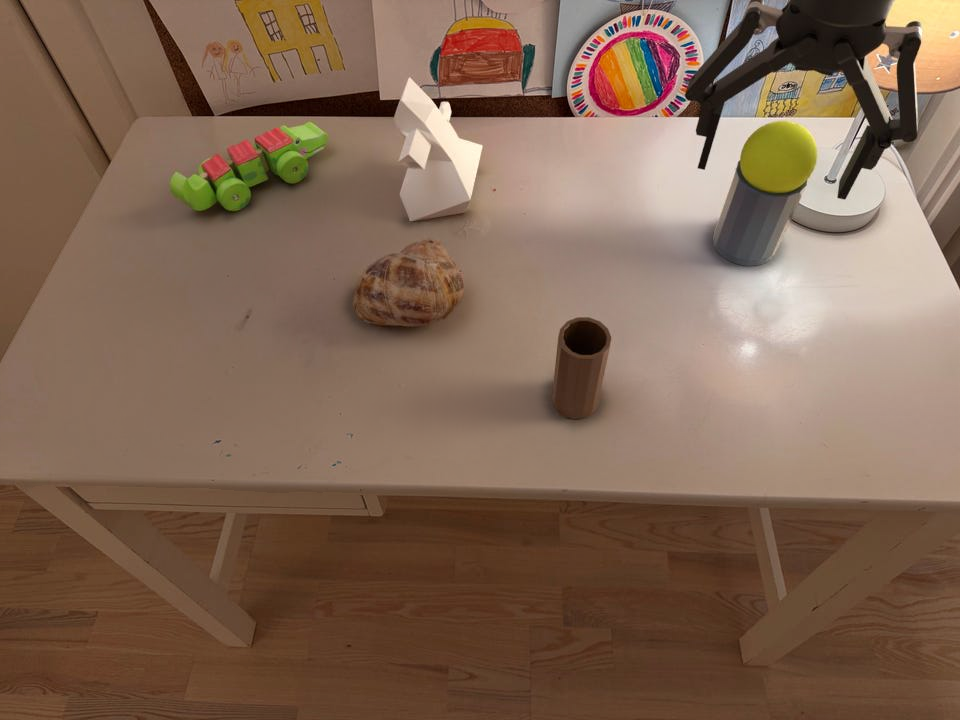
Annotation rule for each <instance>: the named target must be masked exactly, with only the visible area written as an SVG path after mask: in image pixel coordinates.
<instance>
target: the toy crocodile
mask: <svg viewBox="0 0 960 720" xmlns="http://www.w3.org/2000/svg"><path fill="white" fill-rule="evenodd" d="M328 139H329V136H328V133H326V132H325V131H323V130H322V129H321V128H320V127H318V126H317V125H316V124H315V123H314V122H312V121H307V122H305V123H304V124H302V125H301V124H300V125H297V126H296V125H295V126H291V127H287V126H286V125H285V124H282V125H280V126H279V127H273V128H272V129H271V130H269V131H265V132H264V133H263V134H259V135H257V136H256V137H254V138H253V140H254V146H253V144H252V143H251V142H250V140H248V139H244V140H242V141H240V142H238V143H237V144H231V145H230V146H228V147H227V149H226V151H227V154H228V157H229V159H226V161H225V159H224V158H223V157H222V156H221V155H220V153H215V154H214V155H212V156H211V157H208V158H206V159H204V160H203V161H202V162H201V163H200V165H199V166H198V169H197V174H196V173H194V174H192V175H191V176H189V177H187V176H184V175H183V174H182V173H180V172H178V171H175V172H174V173H173V175H172V176H171V179H170V182H169V190H170V192H171V193H172V194H173V196H174V197H175V199H177V200H178V201H180V202H181V203H183V204H185V205H186V206H187V207H189V208H190V209H192V210H194V211H198V212H199V211H200V212H201V211H205V210H208V209H209V208H211V207H213V205H215V204H216V203H218V202H219V204H220V205H221V206H222V207H223V208H224V209H225V210H227V211H230V212H237V211H240V210H242V209H244V208H245V207H246V206H248V204H249V203H250V201H251V195H252V194H251V193H252V192H251V190H250V188H251V187H253V186H256V185H258V184H261V183H263V182H266V181H268V180H269V177H268V175H267V172H269V170H270V171H271V172H272V173H273V174H274V175H276V176H279V178H280V179H282V180H283V181H284V182H285V183H288V184H296V183H299V182H301V181H302V180H303V179H304V178H305V177H306V175H307V174H308V171H309V163H308V161H307V159H308V158H310V157H312V156H314V155H315V154H317V153H319V152H321V151H323V150H325V148H326V143H327V142H328Z"/></svg>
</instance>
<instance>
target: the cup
mask: <svg viewBox="0 0 960 720" xmlns="http://www.w3.org/2000/svg"><path fill="white" fill-rule="evenodd" d="M808 182H809V178H808V179H807V180H806V182H805V183H803V184H802V185H801V186H800V187H798V188H797V189H795V190H793V191H791V192H788V193H780V194H773V193H769V192H764V191H761V190H759V189H757V188H755V187H753V186H751V185H750V184H749V183H748V182H747V181H746V180H745V179H744V177H743V174H742V172H741V167H740V160H738V162H737V164H736V167H735V170H734V172H733V175H732V179H731V182H730V184H729V187H728V191H727V193H726V197H725V199H724V202H723V205H722V208H721V211H720V213H719V216H718V220H717V222H716V225H715V228H714V232H713V235H712V243H713V247H714V249H715V251H717V253H718V254H719V255H720V256H721V257H722V258H723V259H725V260H727V261H729V262H730V263H733V264H736V265H740V266H746V267H754V266H755V267H756V266H760V265H763V264H766V263H768V262H769V261H770V260H771V259H773V257H774V256H775V254H776V252H777V251H778V250H779V247H780V245H781V243H782V240H783V238H784V237H785V235H786V231H787V230H788V228H789V225H790V223H791V222H792V219H793V217H794V214H795V213H796V210H797V208H798V206H799V203H800V201H801V199H802V197H803V194H804V192H805V191H806V188H807V187H808Z"/></svg>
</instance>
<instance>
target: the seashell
mask: <svg viewBox="0 0 960 720" xmlns="http://www.w3.org/2000/svg"><path fill="white" fill-rule="evenodd" d="M441 243H442V242H441V241H439V240H438V239H436V238H434V237H428V238H426V239H425V238H424V239H422V240H421V241H416V242H412V243H410V244H408V245H406V246H405V247H404V248H403V249H402V250H401V251H400V252H397V253H390V254H387V255H384V256H381V257H380V258H378V259H376V260H374V261H373V262H371V263H370V264H369V265H367V266H366V267H365V268H364V269H363V271H362V273H361V274H360V276H359V278H358V280H357V282H356V284H355V291H354V297H353V301H352V303H353V309H354V312H355V313H356V315H357V317H359V318H360V319H362V320H363V322H365V323H367V324H368V323H369V324H374V325H378V326H402V327H410V328H411V327H421V326H429V325H432V324H434V323H437V322H439V321H441V320H444V319H446V318H447V317H448V316H449V315H450V314H451V313H452V312H453V311H454V310H455V309H456V307H457V306H458V305H459V303H460V302H461V300H462V298H463V295H464V289H465V286H464V280H463V276H462V274H461V272H460V270H459V268H458V266H457V264H456V263H455V261H454V260H453V259H452V257H451V256H450V254H449V252H448V250H447V249H446V248H445V246H443V244H441Z"/></svg>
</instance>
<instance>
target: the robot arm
mask: <svg viewBox="0 0 960 720" xmlns="http://www.w3.org/2000/svg"><path fill="white" fill-rule="evenodd" d="M895 1H896V0H788V2H787V3H786V4H785V6H784V7H783V8H782V9H780V8H776V7H773V6H769V5H766V4H765V1H764V0H749V2H748V5H747V7H746V9H745V12H744V14H743V16H742V19H741V21H740V22H739V23H738V24H737V25H736V26H735V27H734V29H732V31H730V33H729V34H728V36H726V38H725V39H724V40H723V41H722V42H721V43H720V44H719V46H717V48H716V49H715V50H714V51H713V52H712V53H711V54H710V56H709V57H708V58H707V59H706V60H705V61H704V63H702V64H701V66H700V67H699V68H698V69H697V70H696V72H695V73H694V74H693V75H692V76H691V77H690V79H689V82H688V84H687V87H686V90H685V93H684V98H685V99H686V100H687V101H689V102H694V101H695V102H696V103H698V104H699V105H700V113H699V116H698V120H697V124H696V127H695V134H696V136H700V137H704V138H705V140H704V143H703V146H702V150H701V154H700V157H699V161H698V164H697V169H699V170H704V171H705V170H706V168H707V163H708V161H709V157H710V154H711V150H712V147H713V143H714V141H715V136H716V133H717V130H718V127H719V123H720V119H721V117H722V113H723V109H724V106H725V103H726V102H727V101H729V100H731V99H732V98H734V97H736V96H737V95H738V94H740V93H742V92H743V91H745V90H746V89H748V88H749V87H751V86H752V85H754V84H756V83H757V82H759V81H760V80H762V79H763V78H766V77H767V76H768V75H770V74H771V73H772V74H774V73H777V72H779V71H780V70H782V69H783V68H785V67H787V66H788V65H791V66H793V67H794V70H795V71H800V72H811V71H812V72H813V71H814V72H817V73H819V74H821V75H824V76H829V77H833V76H834V74H839V73H841V72H842V74H843V75H844V77H845V80H846V82H847V84H848V86H849V87H851V88H852V90H853V93H854V96H855V97H856V100H857V101H858V103H859V105H860V108H861V110H862V112H863V114H864V117H865V118H866V121H867V123H868V124H867V125H866V127H865V129H864V131H863V133H862V135H861V136H860V139H859V140H858V142H857V144H856V147H855V148H854V151H853V153H852V154H851V157H850V159H849V161H848V163H847V164H846V167H845V169H844V170H843V172H842V174H841V177H840V178H839V182H838V190H837V199H839V200H846V199H847V198H848V196H849V194H850V191H851V190H852V188H853V187H854V184H855V182H856V180H857V178H858V176H859V175H860V173H861V171H862V169H864V170H869V171H872V170H873V169H874V168H875V167H876V166H877V164H878V163H879V161H880V159H881V157H882V155H883V153H884V152H885V150H887V149H889V148H890V147H891V146H892V144H893V141H902V142H903V143H913V142H914V141H916V139H917V138H918V131H919V130H918V129H919V128H918V127H919V125H918V124H919V113H918V95H917V94H918V93H917V77H916V76H917V75H916V59H917V56H918V53H919V50H920V48H921V45H922V37H923V36H922V34H923V25H922V23H921V22H920V21H917V20H914V21H913V20H912V21H909V22H908V23H907V24H906V25H905V26H891V25H890V26H889V25H887V24H886V22H887V19H888V16H889V14H890V12H891V10H892V8H893V6H894V3H895ZM769 27H775V32H776V35H777V36H778V37H777V38H775V39H774V40H772V42H770V43H769V45H768V46H767V47H766V48H764V49H762V50H761V51H760V52H758V53H757V54H756V55H754V56H752V57H751V58H749V59H748V60H746V61H744V62H743V63H742V64H740V65H738V66H737V67H736V68H734V69H733V70H732V71H730V72H728V73H727V74H726V75H724V76H722V77H721V78H720V79H718V80H716V79H717V78H718V77H719V76H720V75H721V73H723V72H724V70H725V69H726V68H727V67H728V66H729V65H730V64H731V63H732V61H733V60H735V58H736V57H738V55H739V54H740V53H741V52H742V51H743V50H744V49H745V48H746V47H747V46H748V44H749V42H750V41H751V39H752V38H753V36H759V35H762V34H763V33H764V32H765V31H766V29H768V28H769ZM882 45H885V46H887V47H888V54H889V56H890V57H892V58H893V59H896V83H897V97H898V110H899V111H898V112H899V118H894V119H893V117H892V115H891V112H890V109H889V108H888V106H887V103H886V101H885V98H884V97H883V94H882V92H881V90H880V87H879V85H878V83H877V81H876V78H875V76H874V73H873V71H872V69H871V66H870V64H869V60H868V57H867V56H869V54H871V53H873V52H874V51H875V50H877V49H878V48H879V47H881V46H882ZM715 80H716V81H715ZM714 81H715V82H714Z"/></svg>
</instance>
